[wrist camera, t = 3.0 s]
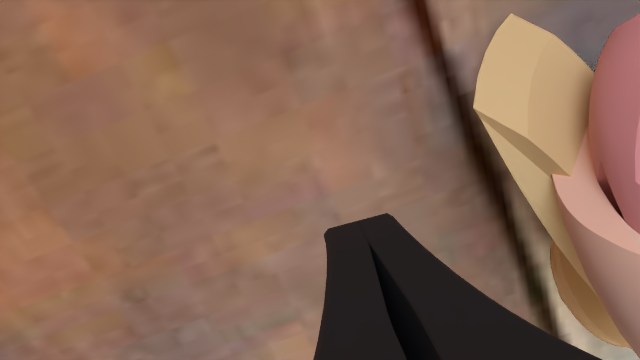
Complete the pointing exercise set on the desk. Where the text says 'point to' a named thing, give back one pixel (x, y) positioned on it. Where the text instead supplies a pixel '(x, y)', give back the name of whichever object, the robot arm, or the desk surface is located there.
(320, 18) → the desk surface
